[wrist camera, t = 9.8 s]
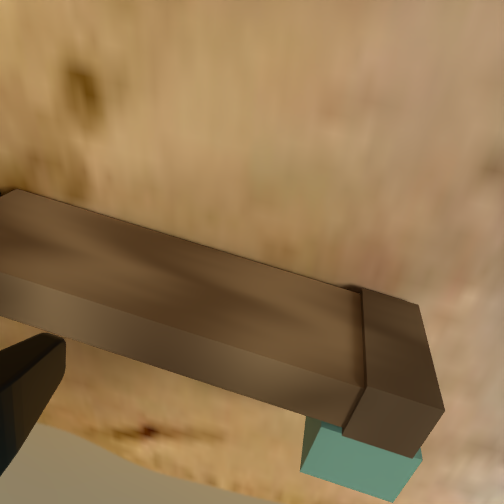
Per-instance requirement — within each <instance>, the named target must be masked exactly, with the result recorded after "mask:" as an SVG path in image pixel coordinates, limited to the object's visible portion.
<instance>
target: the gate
mask: <svg viewBox="0 0 504 504" xmlns="http://www.w3.org/2000/svg"><path fill="white" fill-rule="evenodd" d="M0 316H2V317H5V318H8V319H12V320H15V321H18V322H21V323H24V324H27V325H30V326H33V327H36V328H39V329H42V330H45V331H48V332H51V333H54V334H57V335H60V336H64V337H67V338H70V339H73V340H76V341H79V342H82V343H85V344H88V345H91V346H94V347H97V348H100V349H103V350H106V351H109V352H113V353H116V354H119V355H122V356H125V357H128V358H131V359H134V360H137V361H140V362H143V363H146V364H149V365H152V366H155V367H158V368H161V369H165V370H168V371H171V372H174V373H177V374H180V375H183V376H186V377H189V378H192V379H195V380H198V381H201V382H204V383H207V384H210V385H213V386H217V387H220V388H223V389H226V390H229V391H232V392H235V393H238V394H241V395H244V396H247V397H250V398H253V399H256V400H259V401H262V402H266V403H269V404H272V405H275V406H278V407H281V408H284V409H287V410H290V411H293V412H296V413H299V414H302V415H305V416H308V417H311V418H314V419H318V420H321V421H324V422H327V423H330V424H333V425H336V426H339V427H342V436H344V437H347V438H350V439H353V440H356V441H359V442H362V443H365V444H368V445H371V446H374V447H378V448H381V449H384V450H387V451H390V452H393V453H396V454H399V455H402V456H405V457H408V458H411V459H413V457H414V456H415V454H416V453H417V452H418V450H419V449H420V447H421V446H422V444H423V443H424V441H425V440H426V438H427V437H428V435H429V434H430V432H431V431H432V429H433V428H434V426H435V425H436V424H437V422H438V421H439V419H440V418H441V416H442V415H443V413H444V412H445V408H444V404H443V400H442V396H441V392H440V389H439V385H438V381H437V377H436V373H435V369H434V365H433V361H432V357H431V353H430V349H429V345H428V341H427V337H426V333H425V329H424V325H423V321H422V317H421V313H420V309H419V305H417V304H414V303H410V302H407V301H404V300H401V299H397V298H394V297H391V296H387V295H384V294H381V293H378V292H374V291H371V290H368V289H364V288H362V290H361V292H360V294H359V293H356V292H352V291H349V290H346V289H343V288H339V287H336V286H333V285H330V284H326V283H323V282H320V281H317V280H313V279H310V278H307V277H303V276H300V275H297V274H294V273H290V272H287V271H284V270H281V269H277V268H274V267H271V266H268V265H264V264H261V263H258V262H254V261H251V260H248V259H245V258H241V257H238V256H235V255H232V254H228V253H225V252H222V251H219V250H215V249H212V248H209V247H205V246H202V245H199V244H196V243H192V242H189V241H186V240H183V239H179V238H176V237H173V236H170V235H166V234H163V233H160V232H157V231H153V230H150V229H147V228H143V227H140V226H137V225H134V224H130V223H127V222H124V221H121V220H117V219H114V218H111V217H108V216H104V215H101V214H98V213H94V212H91V211H88V210H85V209H81V208H78V207H75V206H72V205H68V204H65V203H62V202H59V201H55V200H52V199H49V198H45V197H42V196H39V195H36V194H32V193H29V192H26V191H23V190H19V189H15V190H13V191H11V192H9V193H7V194H5V195H3V196H1V197H0Z"/></svg>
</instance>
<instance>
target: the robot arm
mask: <svg viewBox="0 0 504 504" xmlns="http://www.w3.org/2000/svg"><path fill="white" fill-rule="evenodd" d="M65 367H66V342H65V340H64V339H63V338H62V337H59V336H56V335H53V334H50V333H40V334H38V335H35V336H33V337H31V338H29V339H26V340H24V341H22V342H19V343H17V344H15V345H12V346H10V347H8V348H6V349H3V350H1V351H0V476H1V475H2V473H3V472H4V471H5V469H6V468H7V467H8V465H9V464H10V463H11V461H12V459H13V458H14V457H15V456H16V454H17V453H18V451H19V450H20V448H21V446H22V445H23V443H24V442H25V440H26V438H27V437H28V435H29V433H30V431H31V430H32V428H33V427H34V425H35V423H36V422H37V420H38V419H39V417H40V415H41V414H42V412H43V410H44V409H45V407H46V405H47V404H48V402H49V400H50V399H51V397H52V395H53V394H54V392H55V390H56V389H57V387H58V385H59V384H60V382H61V380H62V378H63V376H64V373H65Z"/></svg>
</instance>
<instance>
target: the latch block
mask: <svg viewBox="0 0 504 504" xmlns="http://www.w3.org/2000/svg"><path fill="white" fill-rule="evenodd" d="M422 460H423V459H422V454H421V448H420V449H419V450H418V452H417V453H416V454H415V456H414V457H413V459H411V458H408V457H405V456H402V455H399V454H396V453H393V452H390V451H387V450H384V449H381V448H378V447H374V446H371V445H368V444H365V443H362V442H359V441H356V440H353V439H350V438H347V437H344V436H342V427H339V426H336V425H333V424H330V423H327V422H324V421H321V420H318V419H314V418H311V417H308V416H306V421H305V430H304V439H303V448H302V457H301V466H300V472H302V473H305V474H308V475H311V476H314V477H317V478H320V479H323V480H326V481H329V482H332V483H335V484H338V485H341V486H344V487H347V488H350V489H353V490H356V491H359V492H362V493H365V494H368V495H371V496H374V497H377V498H380V499H383V500H386V501H389V502H392V503H393V502H394V501H395V499H396V498H397V496H398V495H399V493H400V492H401V490H402V489H403V488H404V486H405V485H406V483H407V482H408V480H409V479H410V478H411V476H412V475H413V473H414V472H415V470H416V469H417V467H418V466H419V465H420V463H421V462H422Z"/></svg>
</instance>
